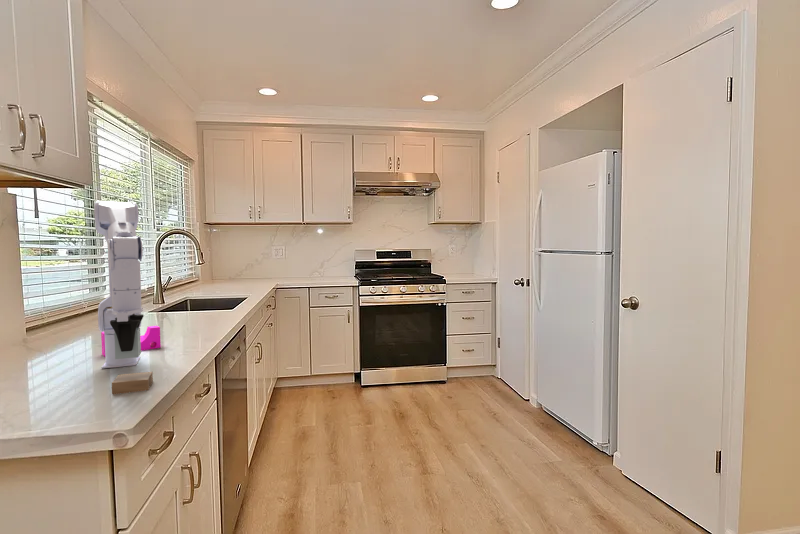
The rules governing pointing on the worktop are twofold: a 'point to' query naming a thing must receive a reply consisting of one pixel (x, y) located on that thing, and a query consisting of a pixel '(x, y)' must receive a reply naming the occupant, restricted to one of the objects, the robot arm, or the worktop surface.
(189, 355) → the worktop surface
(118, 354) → the slate block
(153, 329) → the toy block
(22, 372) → the worktop surface
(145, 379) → the walnut plinth
